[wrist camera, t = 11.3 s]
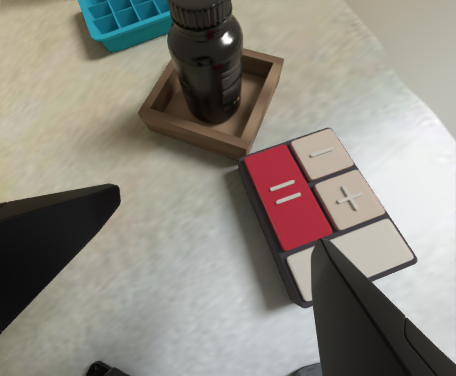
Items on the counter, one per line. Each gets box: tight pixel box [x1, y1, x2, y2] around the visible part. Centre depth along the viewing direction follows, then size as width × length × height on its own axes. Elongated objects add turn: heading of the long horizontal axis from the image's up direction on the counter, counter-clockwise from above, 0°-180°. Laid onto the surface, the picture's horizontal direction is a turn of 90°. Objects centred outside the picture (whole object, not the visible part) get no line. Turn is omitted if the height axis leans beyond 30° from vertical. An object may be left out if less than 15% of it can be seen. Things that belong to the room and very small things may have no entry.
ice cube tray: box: [78, 0, 172, 52], centre depth 32 cm, size 12×20×3 cm, turn 115°
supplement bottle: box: [167, 0, 243, 123], centre depth 21 cm, size 7×7×12 cm
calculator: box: [238, 128, 417, 308], centre depth 21 cm, size 11×4×15 cm
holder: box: [138, 48, 284, 160], centre depth 26 cm, size 13×13×3 cm
